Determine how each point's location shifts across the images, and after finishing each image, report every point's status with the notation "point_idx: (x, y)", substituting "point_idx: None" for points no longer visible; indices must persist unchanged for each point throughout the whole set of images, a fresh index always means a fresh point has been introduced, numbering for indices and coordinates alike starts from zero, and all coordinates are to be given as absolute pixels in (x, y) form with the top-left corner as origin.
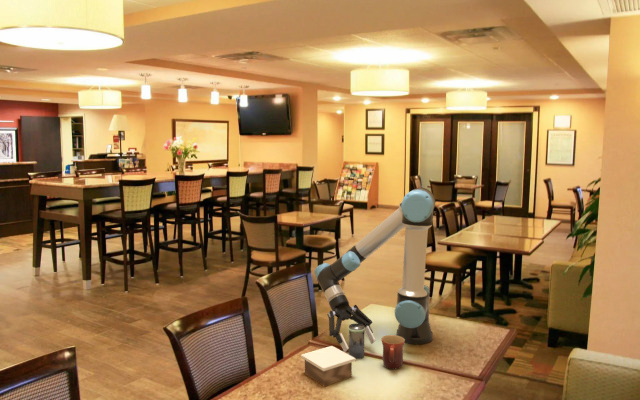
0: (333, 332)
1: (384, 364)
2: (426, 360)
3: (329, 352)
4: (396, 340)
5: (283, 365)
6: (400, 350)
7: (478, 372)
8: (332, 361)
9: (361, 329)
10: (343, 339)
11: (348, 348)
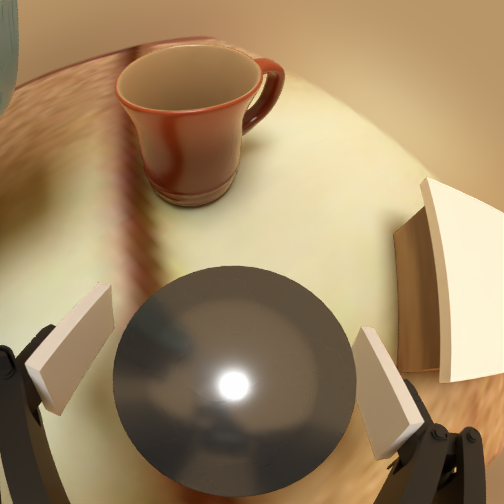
0: (471, 431)
1: (232, 180)
2: (80, 135)
3: (488, 309)
4: (133, 101)
5: None
6: (198, 82)
7: (102, 58)
8: (497, 232)
9: (256, 272)
10: (396, 377)
11: (363, 327)
